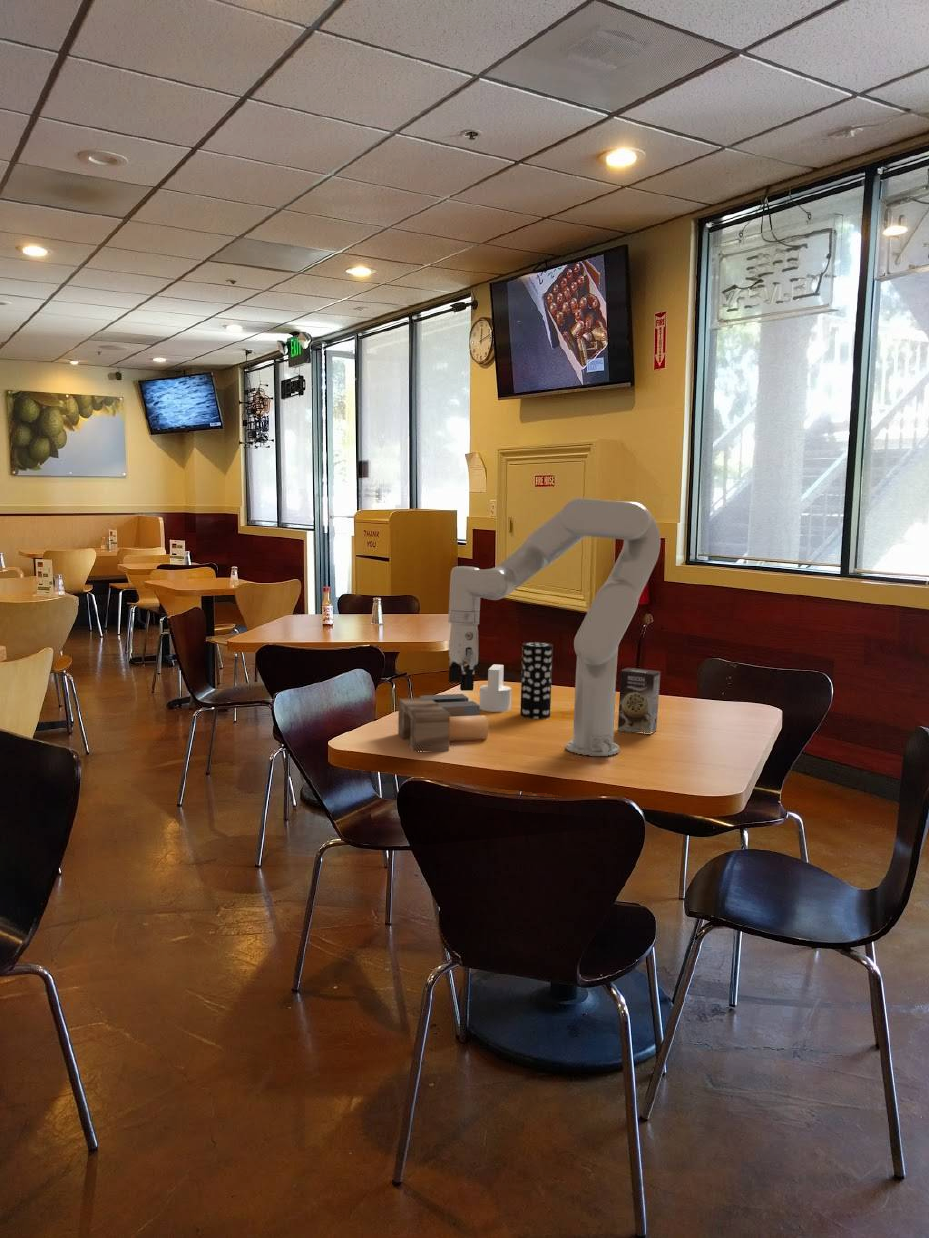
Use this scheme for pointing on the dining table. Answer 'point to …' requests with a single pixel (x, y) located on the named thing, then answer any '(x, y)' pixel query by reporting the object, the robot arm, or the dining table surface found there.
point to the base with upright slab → (495, 691)
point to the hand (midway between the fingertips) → (460, 686)
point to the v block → (455, 704)
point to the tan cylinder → (468, 728)
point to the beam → (424, 724)
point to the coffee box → (638, 700)
